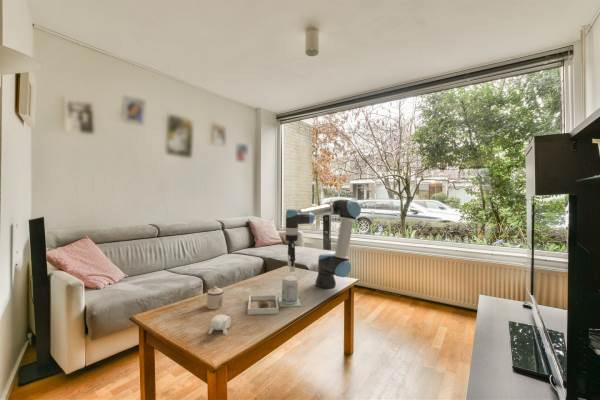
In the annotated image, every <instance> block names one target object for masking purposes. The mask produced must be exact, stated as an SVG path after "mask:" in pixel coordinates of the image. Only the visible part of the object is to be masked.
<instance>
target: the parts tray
mask: <svg viewBox="0 0 600 400" xmlns="http://www.w3.org/2000/svg"><path fill="white" fill-rule="evenodd" d="M264 300H267V301H275V307H268V308H258V307H256V308H255V307H253V308H251V303H252V301H264ZM247 305H248V306H247V315H250V316H251V315H275V314H276V315H278V314H279V311H280V309H279V308H280V307H279V301H278V294H249V297H248V304H247Z"/></svg>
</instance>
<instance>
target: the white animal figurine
mask: <svg viewBox="0 0 600 400" xmlns="http://www.w3.org/2000/svg"><path fill="white" fill-rule="evenodd" d="M231 320H232V318H231V316H228V315H226V314H217V315H214V317H213V318H212V319H211V320H210V325H209V326H210V328H209V331H207V332H208V333H207V334H208V335H211V334H212V333H213V331H214V330H216V331H223V333H222V335H224V336H227V334H228V330H227V329H228V328H230V325H231V322H232V321H231Z"/></svg>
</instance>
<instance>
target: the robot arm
mask: <svg viewBox="0 0 600 400" xmlns="http://www.w3.org/2000/svg"><path fill="white" fill-rule="evenodd" d="M361 211H362V209H361V205H360V203H359V202H358V201H357V200H353V199H336V200H333V201H329V202H326V203H325V204H321V205H317V206H311V207H306V208H301V209H296V208H294V209H293V208H289V209H286V211H285V229H284V231H285V241H286V242H288V243H287V266H289V272H290V273H292V272H293V273H294V272H295V271H296V270H295V269H296V267H295V266H296V265H295V264H296V263H295V262H296V248H295V247H296V244H295V242H297V241H298V239H299V238H298V237H299V236H298V234H299V225H309V224H310V225H311V224H313V223H314V222H315V218H318V217H322V216H334V215H335V216H339V219H340V224H339V230H338V236H337V241H336V248H335V251H334V254H333V253H322V254H319V255H318V260H317V263H318V264H317V276H316V279H315V281H314V282H315V287H317V288H321V289H332V288H333V287H334V288H335V287H336V285H337V282H336V279H335V276H336V277H339V278H345V277H347V276H348V275H349V274H350V272H351V269H352V265H351V263H350V261H349V260H350V258H349V256H348V254H349V247H350V243H351V242H350V241H351V236H352V230H353V224H354V222H356V220H357V218H358V217H359V216H360V215H361V213H362V212H361Z"/></svg>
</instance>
